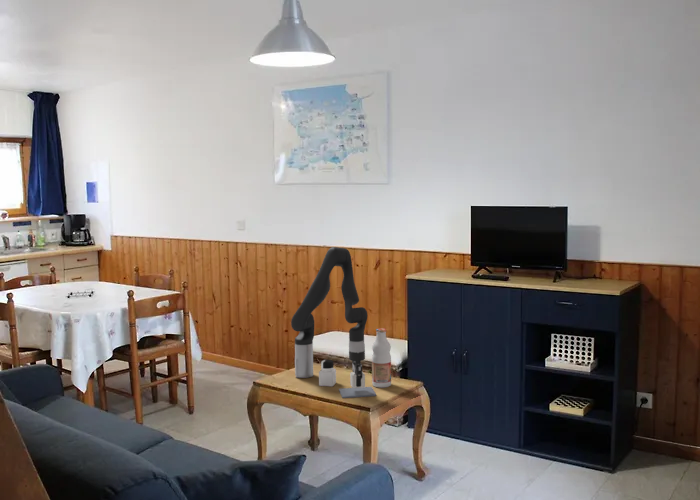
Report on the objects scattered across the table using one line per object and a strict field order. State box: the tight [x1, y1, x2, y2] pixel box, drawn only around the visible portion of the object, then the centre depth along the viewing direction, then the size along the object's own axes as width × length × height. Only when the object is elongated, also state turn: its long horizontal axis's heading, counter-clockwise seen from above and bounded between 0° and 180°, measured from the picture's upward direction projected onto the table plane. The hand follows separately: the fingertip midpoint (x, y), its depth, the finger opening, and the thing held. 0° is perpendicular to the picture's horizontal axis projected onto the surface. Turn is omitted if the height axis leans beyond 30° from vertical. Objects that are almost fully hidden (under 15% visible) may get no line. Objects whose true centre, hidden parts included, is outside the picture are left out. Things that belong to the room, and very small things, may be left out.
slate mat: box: [338, 386, 377, 399], centre depth 308 cm, size 16×12×1 cm
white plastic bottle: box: [371, 327, 392, 389], centre depth 319 cm, size 9×9×28 cm
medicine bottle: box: [318, 359, 337, 387], centre depth 322 cm, size 7×7×12 cm
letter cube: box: [349, 371, 366, 388], centre depth 307 cm, size 6×6×6 cm
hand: (357, 384), depth 308 cm, fingers closed on letter cube, 6 cm apart
